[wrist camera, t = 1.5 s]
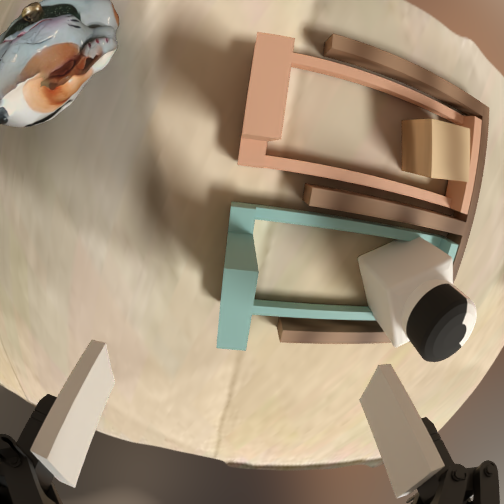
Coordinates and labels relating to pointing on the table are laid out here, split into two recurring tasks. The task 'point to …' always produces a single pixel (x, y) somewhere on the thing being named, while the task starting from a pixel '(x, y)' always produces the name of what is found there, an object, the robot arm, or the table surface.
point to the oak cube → (436, 149)
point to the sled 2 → (246, 271)
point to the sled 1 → (282, 59)
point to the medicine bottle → (417, 297)
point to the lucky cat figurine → (53, 57)
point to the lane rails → (380, 207)
